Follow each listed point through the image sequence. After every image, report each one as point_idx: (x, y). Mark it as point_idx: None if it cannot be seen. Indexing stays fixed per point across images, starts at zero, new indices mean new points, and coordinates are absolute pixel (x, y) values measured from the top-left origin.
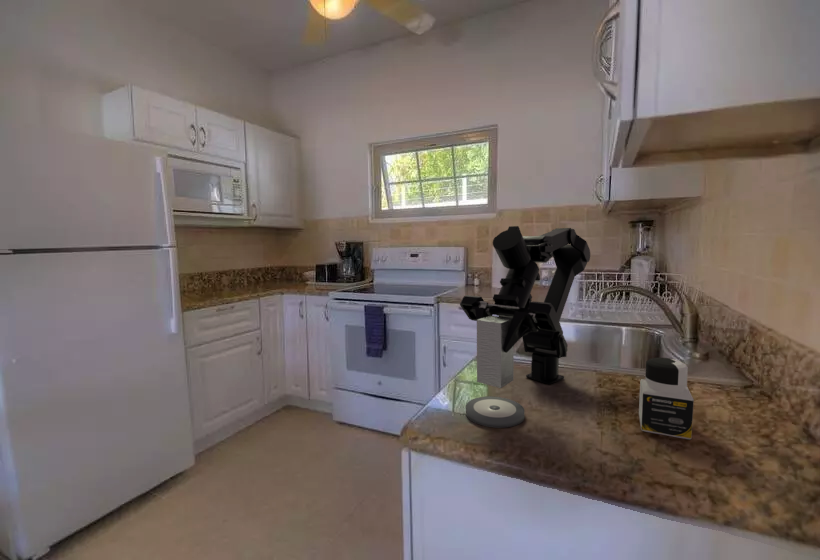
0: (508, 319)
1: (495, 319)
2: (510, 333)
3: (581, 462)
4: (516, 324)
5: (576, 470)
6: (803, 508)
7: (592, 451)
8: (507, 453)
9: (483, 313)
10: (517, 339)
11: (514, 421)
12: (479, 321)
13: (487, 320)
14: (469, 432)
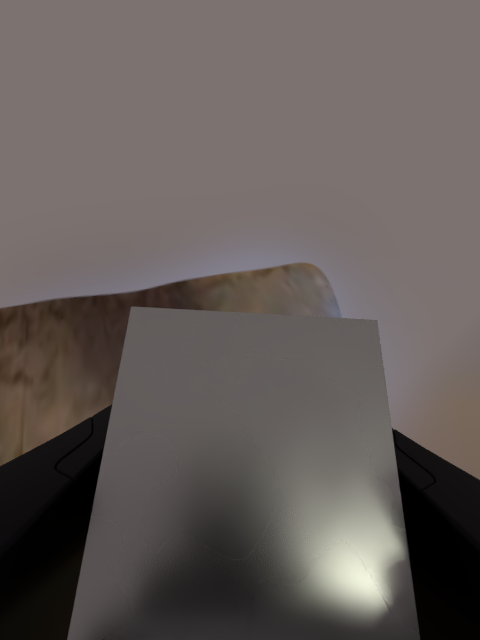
0: (113, 528)
1: (244, 439)
2: None
3: (55, 326)
4: (27, 457)
5: (61, 302)
6: None
7: (38, 369)
8: (161, 288)
9: (474, 547)
10: None
11: None
12: (342, 320)
13: (287, 349)
14: (238, 310)
